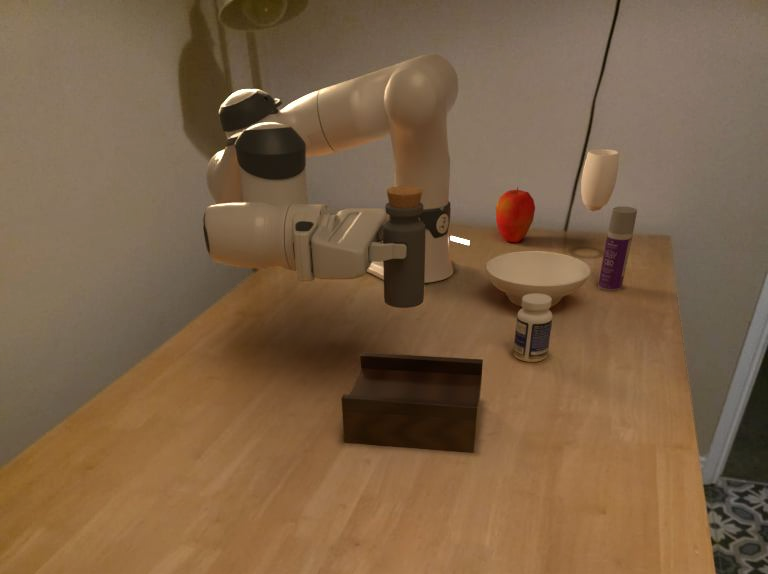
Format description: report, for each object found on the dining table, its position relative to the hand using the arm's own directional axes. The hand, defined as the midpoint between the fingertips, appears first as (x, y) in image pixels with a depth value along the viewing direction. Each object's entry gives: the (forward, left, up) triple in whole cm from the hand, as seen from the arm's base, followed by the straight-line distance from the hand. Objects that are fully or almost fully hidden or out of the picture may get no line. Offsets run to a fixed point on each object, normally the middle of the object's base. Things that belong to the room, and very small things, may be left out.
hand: (410, 242), depth 92 cm
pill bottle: (+8, +21, -22) cm, 32 cm away
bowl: (-5, +41, -22) cm, 47 cm away
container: (+2, +58, -22) cm, 62 cm away
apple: (-31, +70, -22) cm, 80 cm away
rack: (+8, -8, -22) cm, 25 cm away
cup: (-13, +74, -22) cm, 78 cm away
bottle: (-1, -1, -8) cm, 9 cm away
